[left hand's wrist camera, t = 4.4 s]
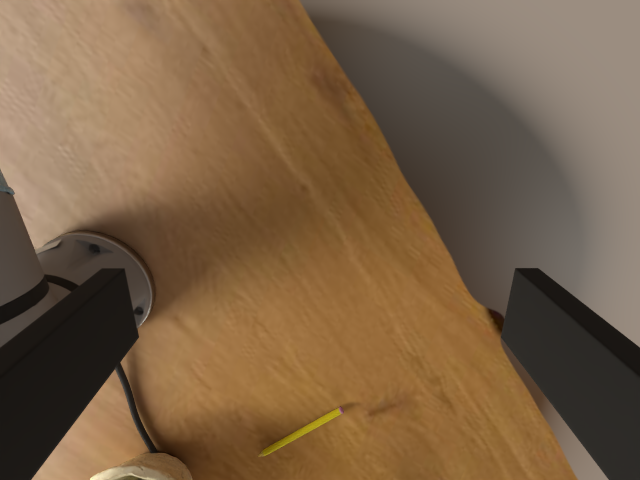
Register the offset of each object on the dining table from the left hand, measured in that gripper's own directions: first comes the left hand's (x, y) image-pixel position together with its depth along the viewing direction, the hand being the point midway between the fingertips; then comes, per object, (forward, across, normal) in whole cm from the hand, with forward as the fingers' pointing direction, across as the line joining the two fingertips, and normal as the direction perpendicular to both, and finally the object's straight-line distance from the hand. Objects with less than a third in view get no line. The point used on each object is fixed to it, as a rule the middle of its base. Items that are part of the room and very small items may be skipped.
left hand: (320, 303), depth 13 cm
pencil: (+33, +3, +42) cm, 54 cm away
